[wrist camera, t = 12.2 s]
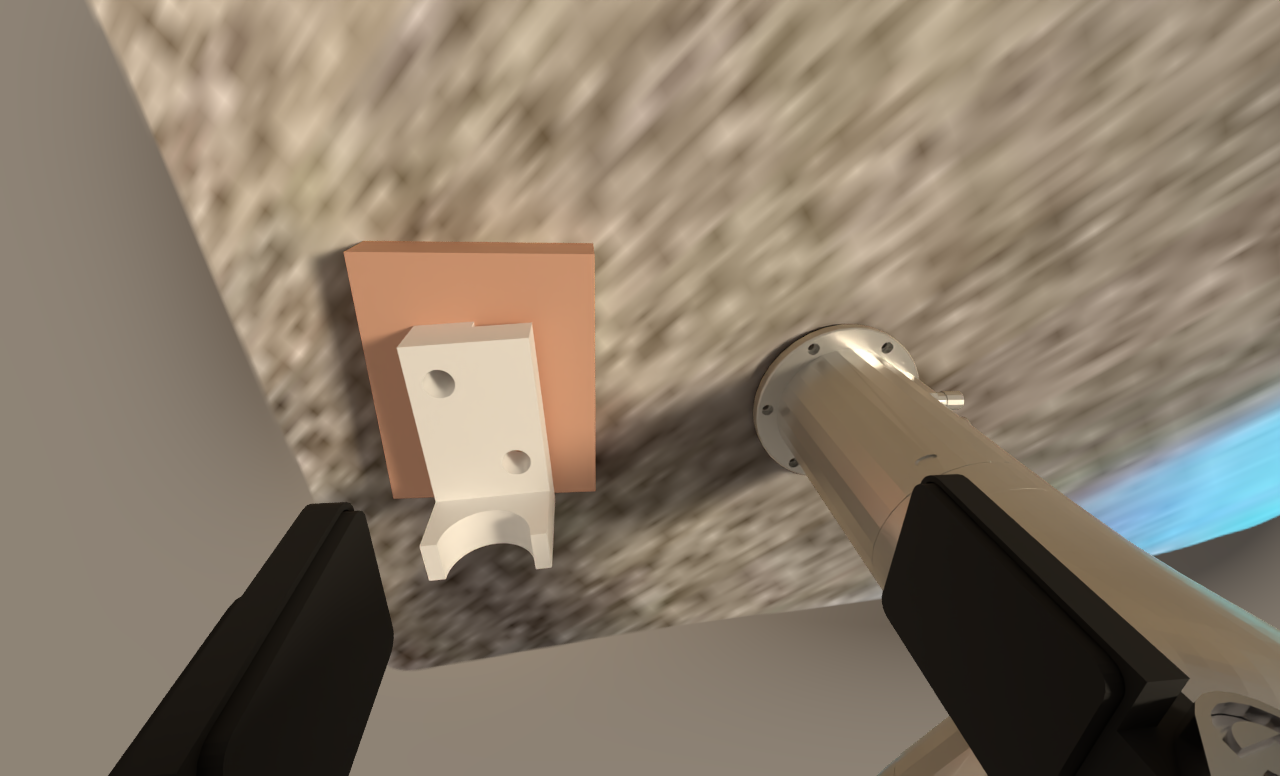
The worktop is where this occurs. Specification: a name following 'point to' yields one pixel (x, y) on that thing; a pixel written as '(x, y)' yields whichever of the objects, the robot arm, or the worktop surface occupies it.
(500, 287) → the riser block
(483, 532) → the bracket
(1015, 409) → the worktop surface
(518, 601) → the worktop surface
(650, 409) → the worktop surface
